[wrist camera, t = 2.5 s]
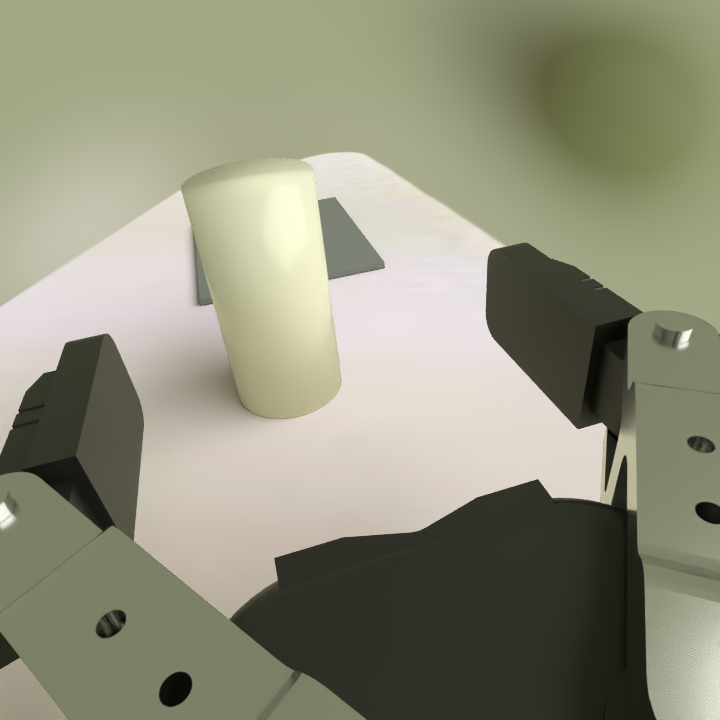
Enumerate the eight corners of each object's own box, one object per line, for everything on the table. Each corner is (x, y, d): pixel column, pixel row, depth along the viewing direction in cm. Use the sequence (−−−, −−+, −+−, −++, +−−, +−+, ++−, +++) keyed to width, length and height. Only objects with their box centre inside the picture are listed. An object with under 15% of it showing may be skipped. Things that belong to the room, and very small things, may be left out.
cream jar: (244, 430, 24) (181, 210, 18) (234, 367, 28) (180, 170, 22) (353, 403, 25) (326, 185, 19) (329, 345, 29) (300, 151, 23)
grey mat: (200, 305, 34) (198, 299, 33) (195, 227, 45) (193, 222, 44) (384, 267, 36) (384, 262, 35) (335, 201, 47) (334, 197, 46)
